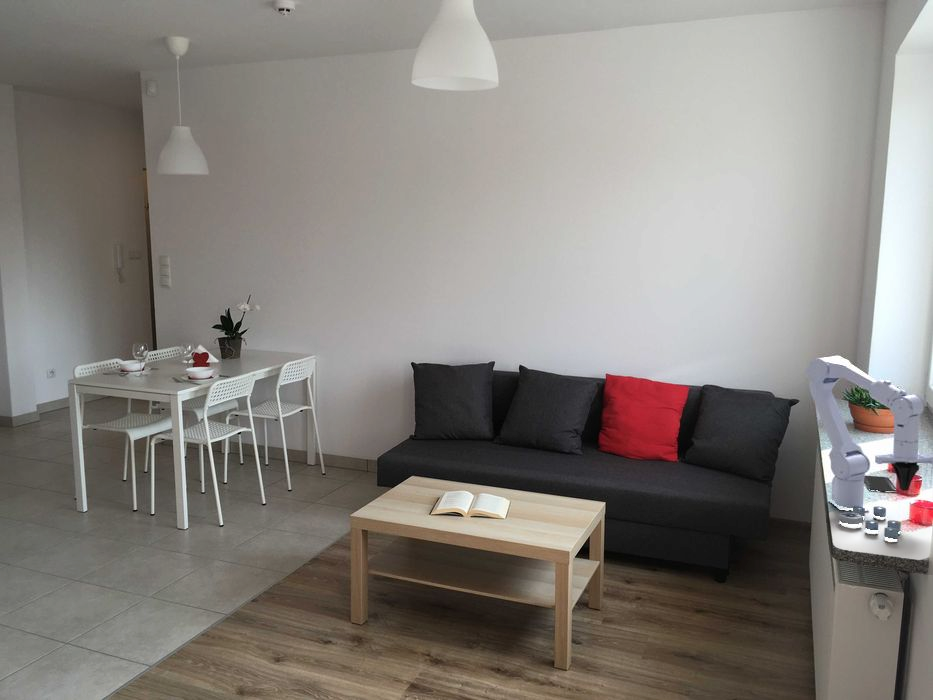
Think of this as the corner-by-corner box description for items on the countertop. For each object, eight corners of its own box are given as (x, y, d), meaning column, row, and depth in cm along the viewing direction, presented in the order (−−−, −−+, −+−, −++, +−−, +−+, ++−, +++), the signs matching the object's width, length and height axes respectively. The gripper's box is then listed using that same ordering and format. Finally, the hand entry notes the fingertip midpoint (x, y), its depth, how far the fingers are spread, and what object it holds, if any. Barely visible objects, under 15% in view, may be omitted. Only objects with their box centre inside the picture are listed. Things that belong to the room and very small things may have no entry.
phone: (887, 477, 244) (897, 490, 230) (887, 480, 245) (897, 494, 230) (860, 475, 247) (868, 488, 233) (860, 478, 247) (868, 492, 233)
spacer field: (846, 516, 211) (847, 506, 211) (882, 516, 210) (883, 506, 210) (876, 542, 192) (877, 531, 192) (916, 543, 191) (917, 531, 191)
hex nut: (836, 522, 208) (836, 511, 207) (855, 522, 207) (856, 511, 207) (844, 529, 202) (845, 518, 202) (864, 529, 201) (864, 518, 201)
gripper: (883, 443, 199) (882, 494, 201) (942, 443, 198) (940, 494, 199) (872, 437, 206) (870, 486, 208) (929, 437, 205) (927, 486, 206)
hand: (904, 489), depth 204 cm, fingers closed
